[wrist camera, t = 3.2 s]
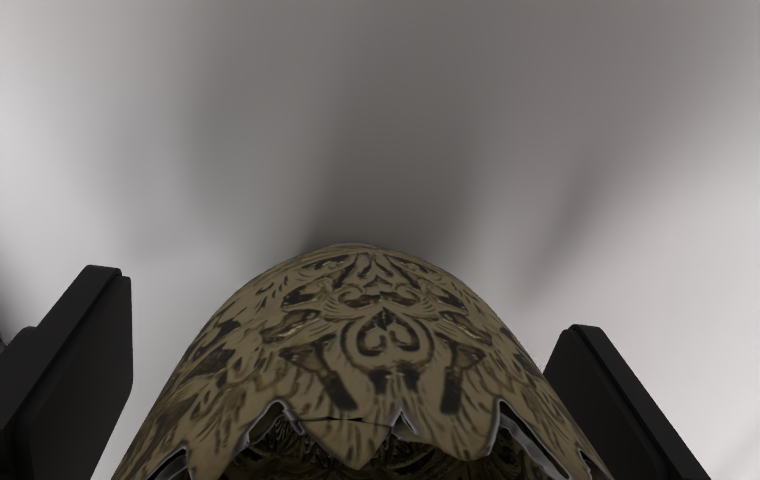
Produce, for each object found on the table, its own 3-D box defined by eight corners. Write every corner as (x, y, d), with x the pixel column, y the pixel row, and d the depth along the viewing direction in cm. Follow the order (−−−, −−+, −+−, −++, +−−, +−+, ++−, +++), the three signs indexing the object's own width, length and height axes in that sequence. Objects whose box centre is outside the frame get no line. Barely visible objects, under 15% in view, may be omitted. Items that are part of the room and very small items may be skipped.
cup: (200, 129, 11) (-45, 444, 4) (531, 176, 12) (812, 486, 5) (197, 392, 14) (65, 812, 7) (454, 409, 15) (556, 788, 8)
